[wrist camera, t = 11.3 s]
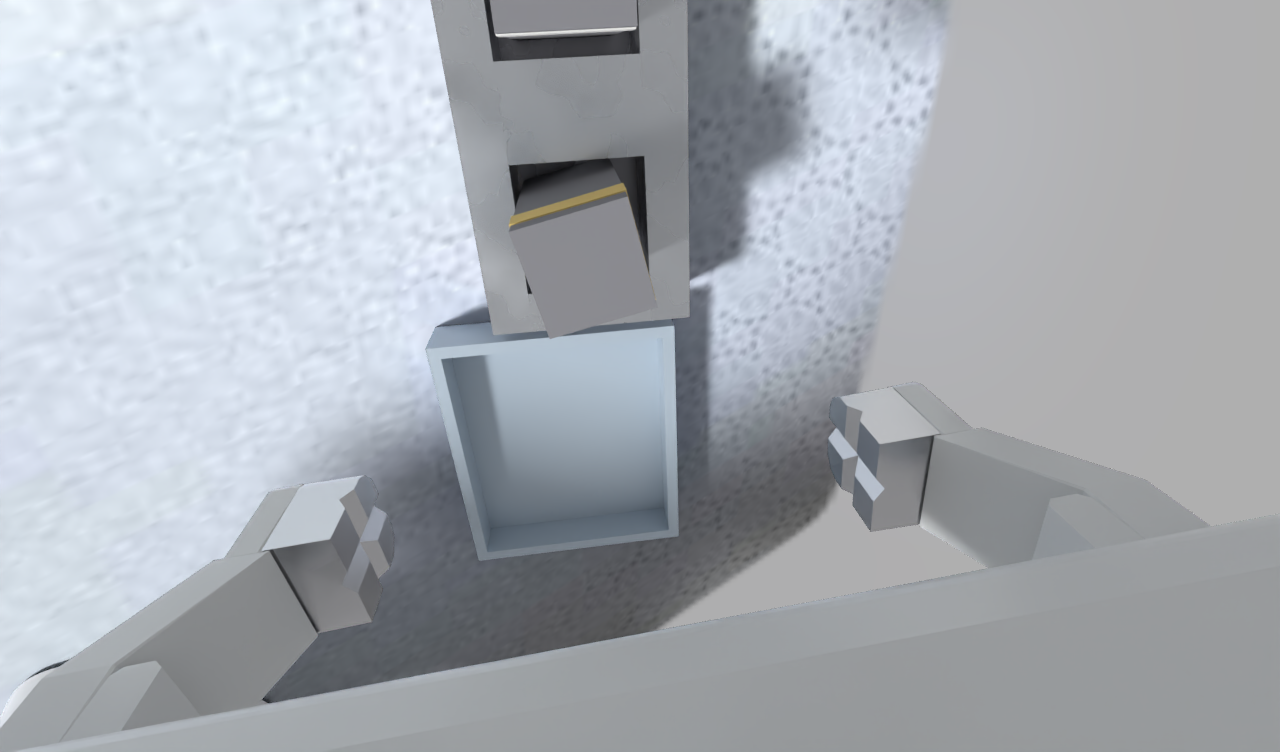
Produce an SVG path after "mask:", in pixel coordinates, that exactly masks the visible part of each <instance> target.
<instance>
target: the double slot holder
mask: <svg viewBox="0 0 1280 752" xmlns="http://www.w3.org/2000/svg"><path fill="white" fill-rule="evenodd" d="M431 5H432V10H433V15H434V21H435V26H436V31H437V37H438V42H439V47H440V53H441V58H442V63H443V69H444V74H445V79H446V85H447V90H448V95H449V101H450V106H451V112H452V117H453V122H454V128H455V133H456V138H457V144H458V149H459V154H460V160H461V165H462V170H463V176H464V181H465V186H466V192H467V197H468V202H469V208H470V213H471V219H472V224H473V229H474V235H475V240H476V245H477V251H478V256H479V261H480V267H481V272H482V277H483V283H484V288H485V293H486V299H487V304H488V309H489V315H490V320H491V326H492V331H493V335H503V334H514V333H524V332H535V331H546V328H545V325H544V323H543V320H542V318H541V315H540V312H539V310H538V307H537V304H536V302H535V299H534V297H533V294H532V291H531V289H530V286H529V284H528V281H527V278H526V276H525V273H524V271H523V268H522V265H521V263H520V260H519V257H518V255H517V252H516V250H515V247H514V244H513V242H512V239H511V237H510V234H509V230H510V227H509V222H510V219H511V216H514V212H515V209H516V206H517V202H518V199H519V195H520V192H521V188H522V185H523V182H524V180H527V179H530V178H534V177H537V176H540V175H544V174H547V173H550V172H554V171H557V170H560V169H563V168H567V167H570V166H573V165H577V164H580V163H583V162H587V161H590V160H593V159H607V158H609V159H610V161H611V163H612V165H613V167H614V169H615V171H616V173H617V175H618V177H619V179H620V181H621V183H623V184H624V186H625V188H626V190H627V194H628V197H629V201H630V205H631V208H632V212H633V216H634V220H635V223H636V227H637V231H638V234H639V238H640V242H641V246H642V249H643V253H644V257H645V260H646V264H647V268H648V272H649V275H650V279H651V283H652V286H653V290H654V294H655V298H656V303H657V307H658V308H654V309H651V310H647V311H644V312H641V313H637V314H634V315H630V316H627V317H624V318H620V319H617V320H614V321H610V322H607V323H603V324H600V325H611V324H621V323H632V322H643V321H654V320H665V319H675V318H686V317H690V281H689V140H688V0H637V21H638V26H636V29H635V30H632V31H623V32H621V33H618V34H616V35H613V36H597V37H578V38H559V39H540V40H521V41H515V40H512V39H510V38H507V37H497V36H496V34H495V33H494V26H493V19H492V12H491V5H490V0H431ZM600 325H597V326H600Z"/></svg>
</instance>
